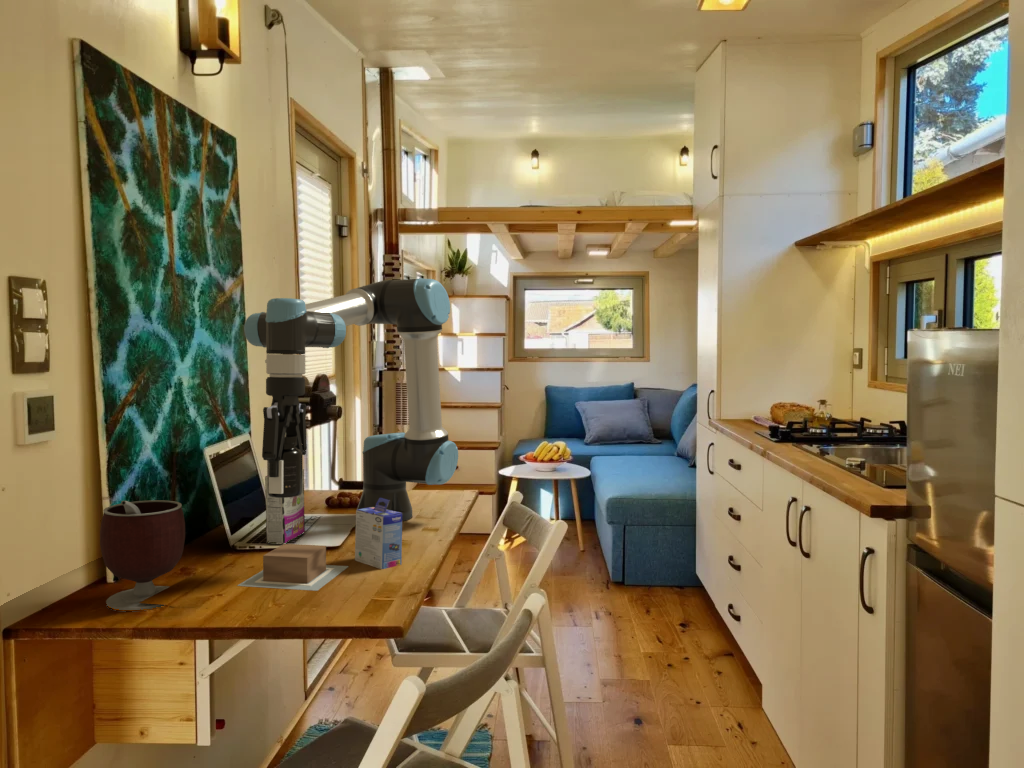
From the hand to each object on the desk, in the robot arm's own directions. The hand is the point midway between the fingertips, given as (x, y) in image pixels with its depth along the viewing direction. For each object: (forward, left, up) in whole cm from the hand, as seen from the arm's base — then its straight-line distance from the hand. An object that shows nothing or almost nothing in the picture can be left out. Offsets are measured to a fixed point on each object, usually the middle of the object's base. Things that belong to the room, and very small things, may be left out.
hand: (285, 489), depth 151 cm
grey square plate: (+3, +3, -18) cm, 18 cm away
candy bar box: (-28, -14, -18) cm, 36 cm away
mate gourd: (+18, -19, -18) cm, 32 cm away
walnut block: (+2, +3, -17) cm, 17 cm away
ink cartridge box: (-10, +16, -18) cm, 26 cm away
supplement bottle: (0, 0, -1) cm, 1 cm away
